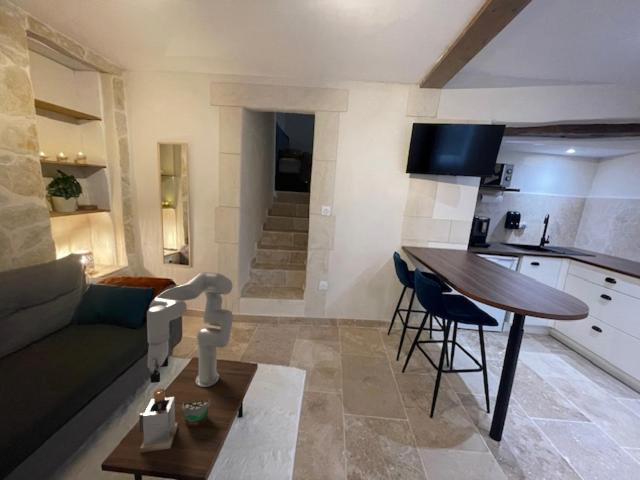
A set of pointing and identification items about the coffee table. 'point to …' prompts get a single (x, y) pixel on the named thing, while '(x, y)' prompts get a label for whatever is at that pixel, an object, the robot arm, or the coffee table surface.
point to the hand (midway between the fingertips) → (159, 373)
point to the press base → (160, 446)
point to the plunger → (159, 397)
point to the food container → (196, 413)
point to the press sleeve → (158, 422)
